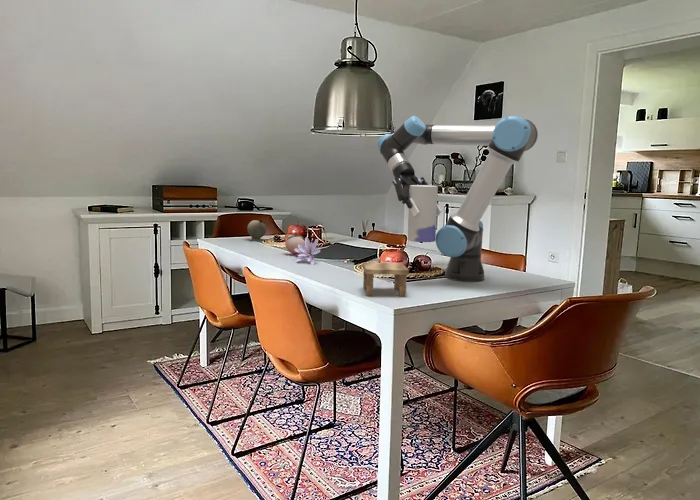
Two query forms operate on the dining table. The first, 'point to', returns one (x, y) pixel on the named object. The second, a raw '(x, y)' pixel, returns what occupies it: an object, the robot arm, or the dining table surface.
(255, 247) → the dining table surface
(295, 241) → the decorative fruit
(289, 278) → the dining table surface
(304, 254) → the water lily
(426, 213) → the container
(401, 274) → the stool
